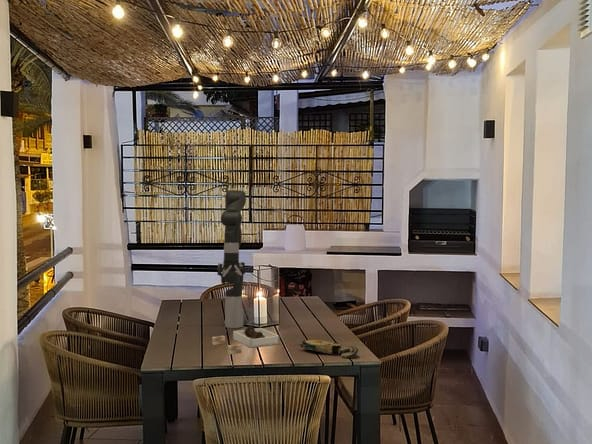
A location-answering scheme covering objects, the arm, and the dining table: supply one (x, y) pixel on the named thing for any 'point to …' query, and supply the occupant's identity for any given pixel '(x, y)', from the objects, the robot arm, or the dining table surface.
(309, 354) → the dining table surface
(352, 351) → the pulley block
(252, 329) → the bolt
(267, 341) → the tray
